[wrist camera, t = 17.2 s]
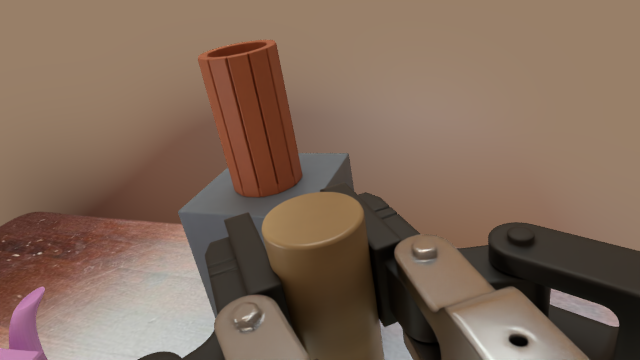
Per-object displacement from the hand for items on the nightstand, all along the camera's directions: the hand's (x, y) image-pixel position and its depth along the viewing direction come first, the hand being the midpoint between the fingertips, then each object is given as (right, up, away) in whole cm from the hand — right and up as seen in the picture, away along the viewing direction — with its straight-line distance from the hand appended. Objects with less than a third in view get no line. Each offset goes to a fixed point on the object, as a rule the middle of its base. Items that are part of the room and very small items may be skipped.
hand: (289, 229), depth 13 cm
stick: (+3, -13, +4) cm, 14 cm away
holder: (0, -9, +20) cm, 22 cm away
